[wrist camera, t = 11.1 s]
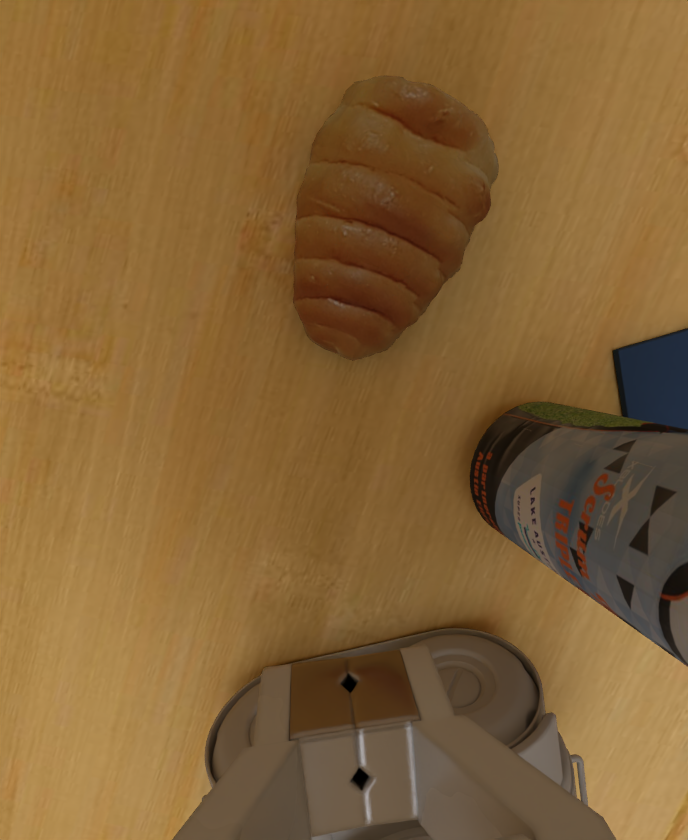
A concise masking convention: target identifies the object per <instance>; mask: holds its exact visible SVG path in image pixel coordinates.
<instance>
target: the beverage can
mask: <svg viewBox="0 0 688 840" xmlns="http://www.w3.org/2000/svg"><path fill="white" fill-rule="evenodd" d="M470 488H471V493H472V498H473V501H474V503H475V506H476V508H477V510H478V512H479V513H480V515H481V516H482V518H483V519H484V520H485V521H486V522H487V523H488V524H489V525H490V526H491V527H493V528H494V529H495V530H497V531H498V532H500V533H501V534H502V535H504V536H505V537H507V538H508V539H509V540H511V541H512V542H514V543H515V544H517V545H518V546H519V547H521V548H522V549H524V550H525V551H526V552H528V553H529V554H531V555H532V556H533V557H535V558H536V559H538V560H539V561H540V562H542V563H543V564H545V565H546V566H547V567H549V568H550V569H552V570H553V571H554V572H556V573H557V574H559V575H560V576H561V577H563V578H564V579H566V580H567V581H568V582H570V583H571V584H573V585H574V586H575V587H577V588H578V589H580V590H581V591H582V592H584V593H585V594H587V595H588V596H589V597H591V598H592V599H594V600H595V601H596V602H598V603H599V604H601V605H602V606H603V607H605V608H606V609H608V610H609V611H610V612H612V613H613V614H615V615H616V616H617V617H619V618H620V619H622V620H623V621H624V622H626V623H627V624H629V625H630V626H631V627H633V628H634V629H636V630H637V631H638V632H640V633H641V634H643V635H644V636H645V637H647V638H648V639H650V640H651V641H653V642H654V643H655V644H657V645H658V646H660V647H661V648H662V649H664V650H665V651H667V652H668V653H669V654H671V655H672V656H674V657H675V658H676V659H678V660H679V661H681V662H682V663H683V664H685V665H686V666H688V429H683V428H678V427H673V426H668V425H662V424H657V423H652V422H647V421H642V420H637V419H632V418H627V417H621V416H616V415H611V414H606V413H601V412H596V411H591V410H586V409H580V408H575V407H570V406H565V405H560V404H555V403H550V402H533V403H527V404H524V405H521V406H517V407H515V408H513V409H511V410H510V411H508V412H506V413H504V414H503V415H502V416H501V417H499V418H498V419H497V420H496V421H495V422H494V423H493V424H492V425H491V426H490V427H489V428H488V429H487V431H486V432H485V434H484V435H483V437H482V438H481V440H480V442H479V444H478V446H477V448H476V450H475V453H474V456H473V460H472V463H471V471H470Z"/></svg>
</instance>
